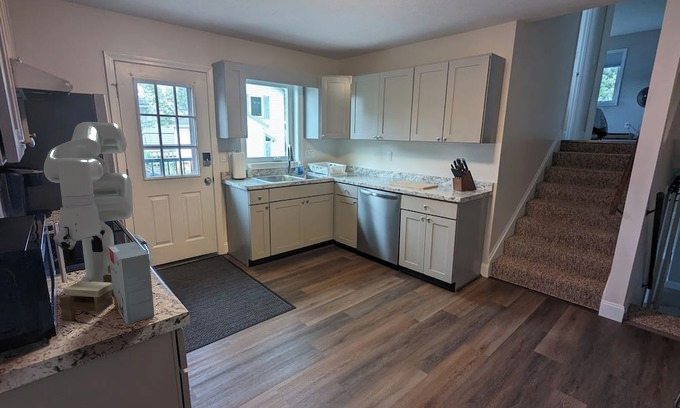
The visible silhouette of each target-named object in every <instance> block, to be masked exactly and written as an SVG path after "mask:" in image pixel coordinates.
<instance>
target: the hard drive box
mask: <svg viewBox="0 0 680 408" xmlns="http://www.w3.org/2000/svg"><path fill="white" fill-rule="evenodd" d="M145 250H146V249H143V248H142V246H140V245H139V244H138V243H136V242H135V241H131V242H126V243H119V244H114V245H113V246H108V252H109V260H110V268H111V277H112V287H113V295H114V296H113V304H114V307H115V309H116V310H117V311H118V312H119V313H118V314H120V316H121V318H122V320H123V321H124V322H125V324H126V325H130V324H133V322H134V323H136V322H140V321H143V320H147V319H149V318H152V317H154V316H155V307H154V305H155V304H154V296H153V293H154V292H153V284H152V283H153V282H152V273H151V262H150V254H149V252H148V253H147V252H146V251H145Z"/></svg>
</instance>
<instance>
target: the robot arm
mask: <svg viewBox="0 0 680 408" xmlns="http://www.w3.org/2000/svg"><path fill="white" fill-rule="evenodd" d="M71 137H72V138H71V140H69V141H66V142H64V143H61V144H59V145H57V146H55V147H53V148H51V149H50V150H49V151H48V152H47V155H46V158H45V160H44V164H43V174H44V176H45V178H46V179H47V180H48V181H49V182H51V183H54V184H55V183H58V184H59V186H60V194H61V202H62V206H61V207H60V209H59V214H58V215H59V217H58V218H59V219H58V220H59V221H58V225H59V226H58V228H59V232H57V234H56V235H54V236H53V240H54V242H55V243H56V245H57V246H58V247H60V249H61V250H63V257H64V261H65V263H76V262H77V260H78V259H77V251H76V248H74V247H75V245H76V243H77V242H78V241H81V242H82V252H83V259H84V261H83V262H84V268H85V269H84V270H85V275H84V276H82V277H81V279H80V281H90V282H104V279H103V276H104V275H106V274H107V275H111V273H108V266H109V265H110V260H109V252H108V246H113V245H115V239H114V232H113V229H112V228H111V227H110V226H109V225H108V224H106V223H105V222H111V221H123V220H124V221H125V220H127V219H130V218H131V217H132V215H133V213H134V212H133V211H134V208H133V207H134V203H133V200H134V199H133V184H132V180H131V177H130V176H129V175H128V174H127V173H124V172H110V166H109V164H108V163H107V162H106V161H105V160H104V159H103V158H101V157H100V156H99V155H101V154H105V155H106V154H119V155H120V154H123V153H125V152H126V150H127V139H126V136H125V135H124V131H123V130H122V128H121V127H120V125H118V124H116V123H114V122H98V121H97V122H96V121H83V122H81V123H78V124H77V125H76V126H75V128H74V131H73V133H72V136H71Z"/></svg>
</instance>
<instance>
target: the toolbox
mask: <svg viewBox="0 0 680 408" xmlns="http://www.w3.org/2000/svg"><path fill="white" fill-rule="evenodd" d="M103 279H104V282H107V283H112V277H111V275H107V274H106V275H104V276H103ZM113 297H114V295H113V289H112V290H110V291H109V292H107V293H105V294H103V295H101V296H100V297H89V296H72V295H65V294H64V295H61V296H59V297H58V298H59V306H60V313H61V321H66V322H73V321H74V320H76V313H75V312H85V313H86V312H88V313H100V312H101V311H103V310H104V309H106V308H107V307H109V306H111V305H113V304H114V298H113Z"/></svg>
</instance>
